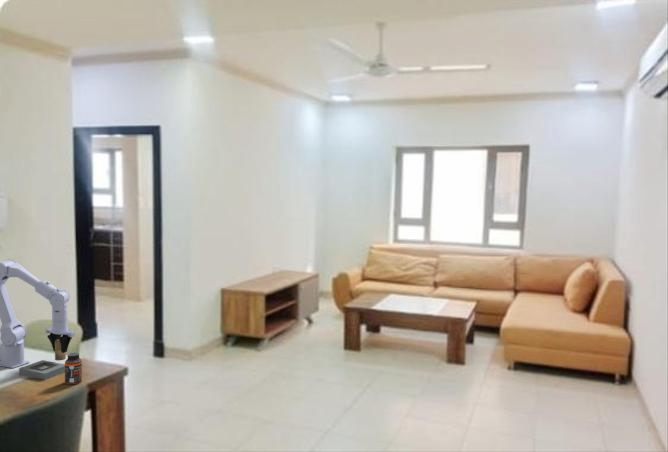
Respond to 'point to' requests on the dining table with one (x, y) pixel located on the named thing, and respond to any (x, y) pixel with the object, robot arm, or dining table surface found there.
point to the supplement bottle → (73, 369)
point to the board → (42, 370)
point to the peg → (59, 351)
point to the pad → (43, 366)
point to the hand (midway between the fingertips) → (60, 351)
